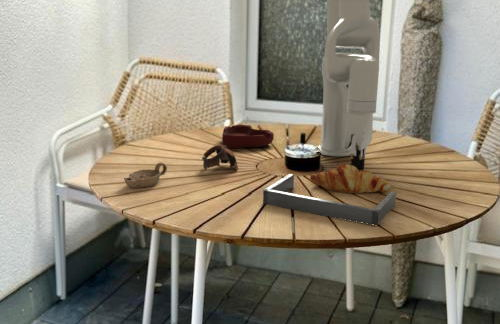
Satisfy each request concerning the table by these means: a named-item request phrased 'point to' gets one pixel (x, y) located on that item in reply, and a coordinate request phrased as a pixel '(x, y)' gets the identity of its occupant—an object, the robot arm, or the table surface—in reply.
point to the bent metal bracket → (324, 203)
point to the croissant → (350, 180)
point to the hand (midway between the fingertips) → (357, 172)
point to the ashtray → (246, 137)
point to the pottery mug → (219, 157)
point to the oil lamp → (145, 177)
